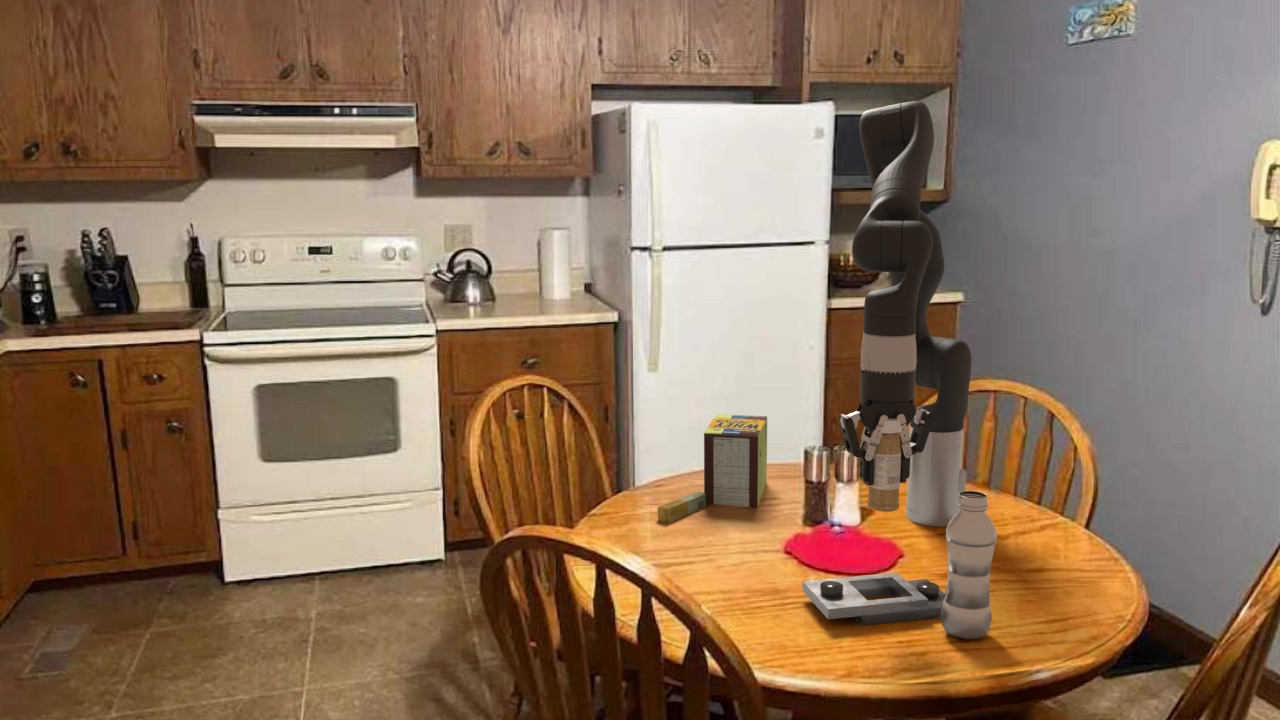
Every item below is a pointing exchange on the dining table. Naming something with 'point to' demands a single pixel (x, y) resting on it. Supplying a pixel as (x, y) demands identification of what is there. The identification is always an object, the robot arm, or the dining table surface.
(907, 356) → the robot arm
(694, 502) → the medication box
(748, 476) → the protein box
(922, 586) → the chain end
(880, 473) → the sprinkles bottle
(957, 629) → the plastic bottle
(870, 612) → the grey slotted fixture plate
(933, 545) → the dining table surface
